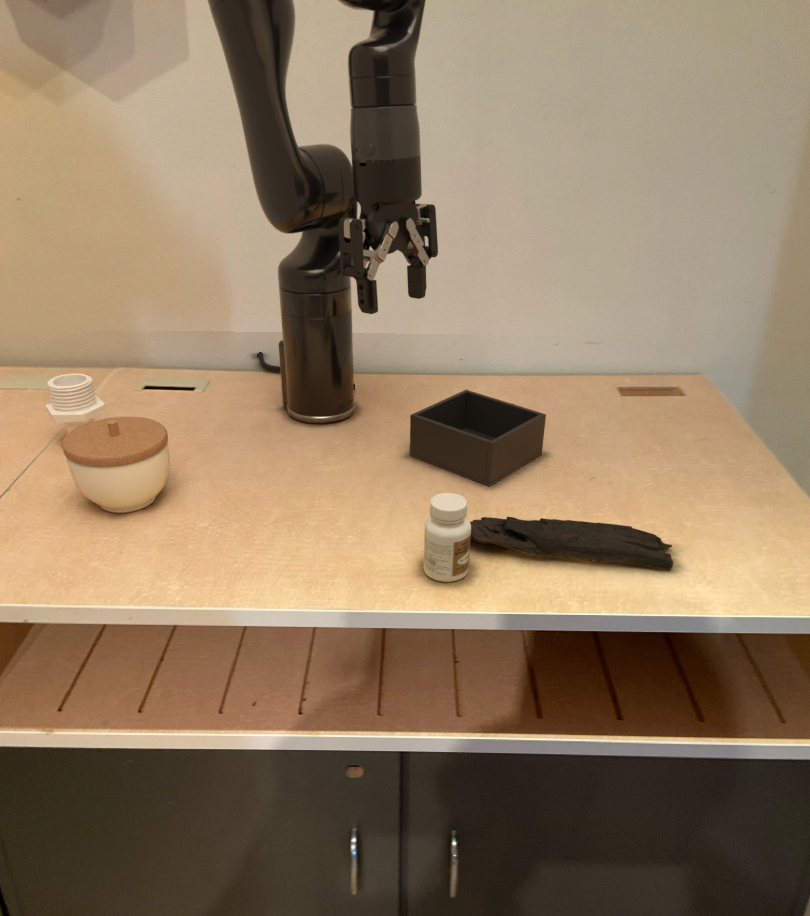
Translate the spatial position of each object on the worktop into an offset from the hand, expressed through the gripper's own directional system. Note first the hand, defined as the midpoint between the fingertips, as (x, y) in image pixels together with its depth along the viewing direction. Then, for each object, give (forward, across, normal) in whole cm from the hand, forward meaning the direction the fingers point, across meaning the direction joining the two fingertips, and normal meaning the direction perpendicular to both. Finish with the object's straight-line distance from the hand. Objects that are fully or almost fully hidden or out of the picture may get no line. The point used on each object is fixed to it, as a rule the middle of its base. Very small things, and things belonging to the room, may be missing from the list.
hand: (393, 305), depth 94 cm
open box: (+18, -3, +10) cm, 21 cm away
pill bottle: (+19, +20, +23) cm, 36 cm away
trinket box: (+16, +32, -12) cm, 38 cm away
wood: (+19, +8, +29) cm, 36 cm away
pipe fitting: (+15, +27, -30) cm, 44 cm away
